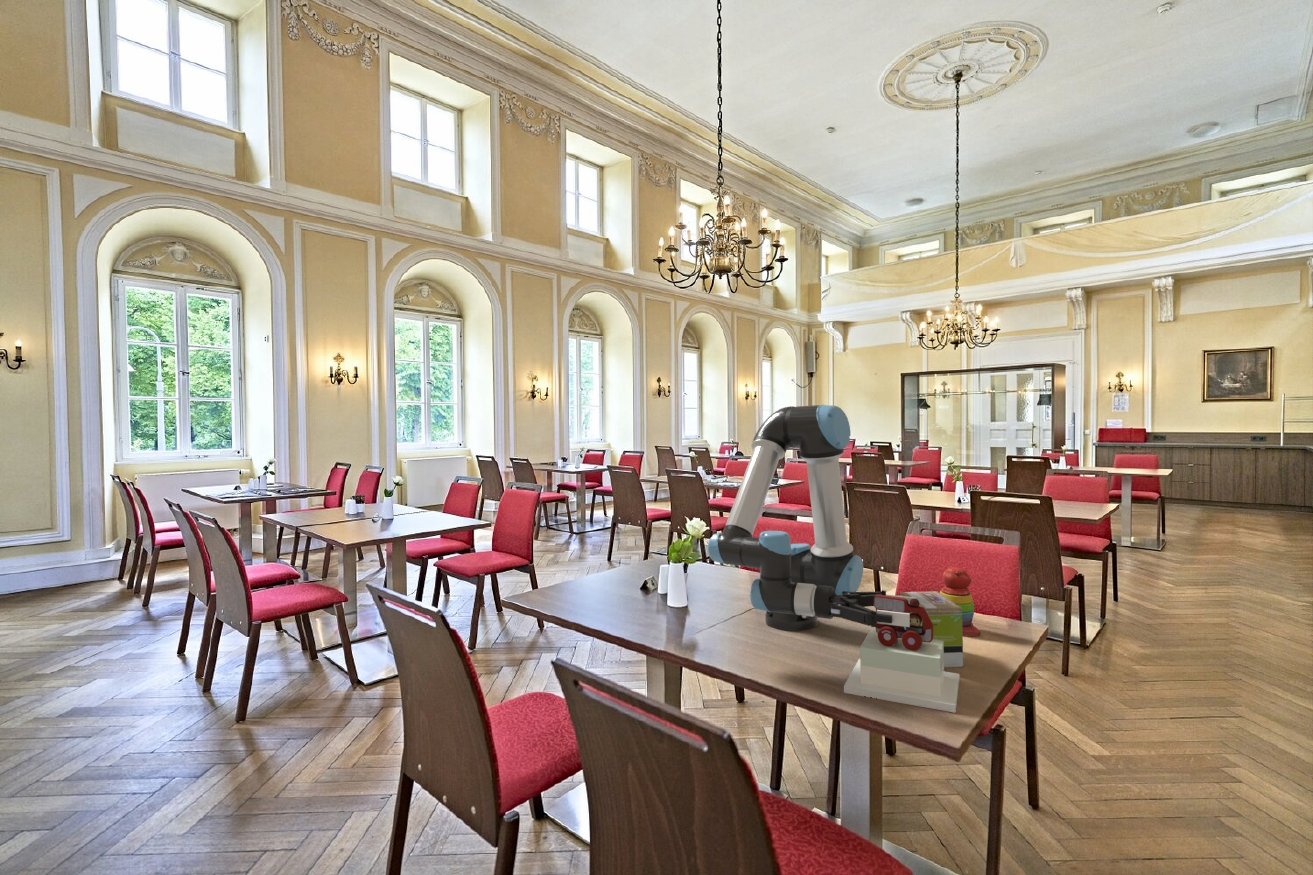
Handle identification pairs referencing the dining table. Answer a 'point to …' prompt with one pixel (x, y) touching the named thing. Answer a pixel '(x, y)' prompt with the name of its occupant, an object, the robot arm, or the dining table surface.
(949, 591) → the stacking bear
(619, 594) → the dining table surface
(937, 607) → the tea box
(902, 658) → the block on white base
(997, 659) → the dining table surface
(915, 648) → the toy fire truck
